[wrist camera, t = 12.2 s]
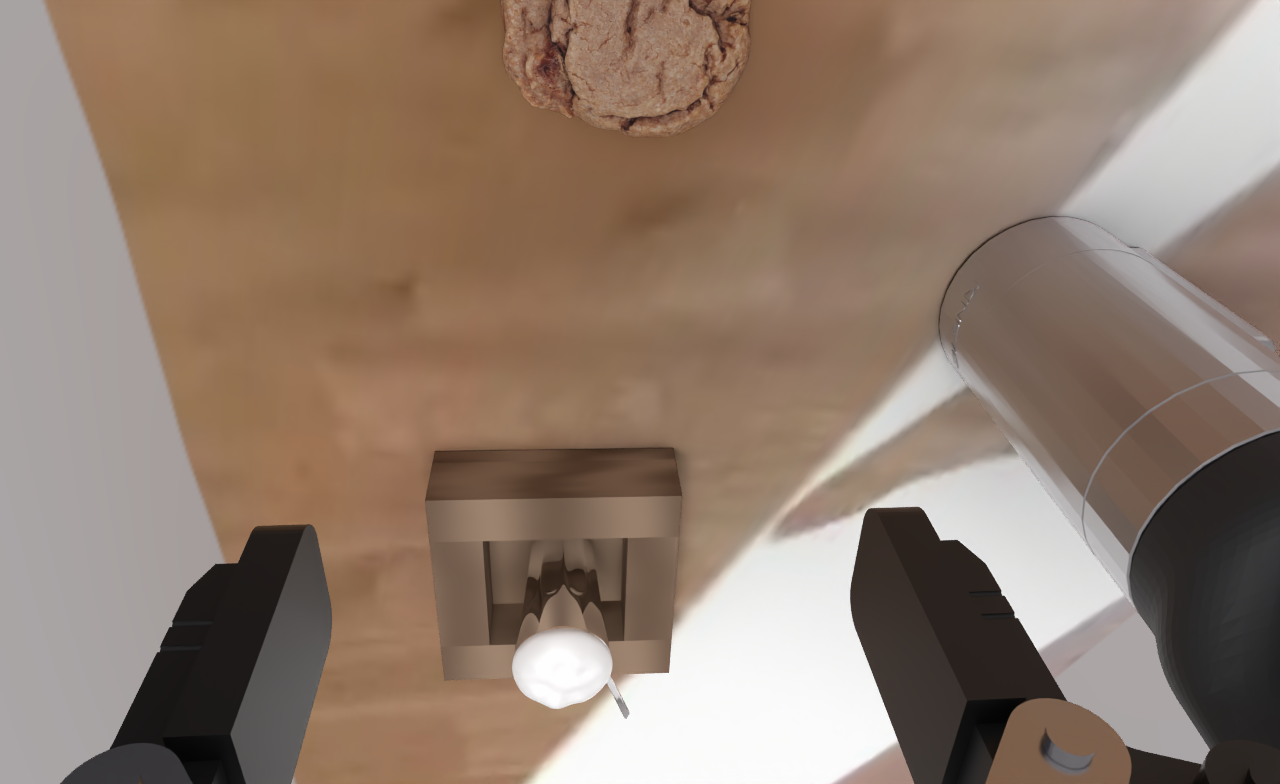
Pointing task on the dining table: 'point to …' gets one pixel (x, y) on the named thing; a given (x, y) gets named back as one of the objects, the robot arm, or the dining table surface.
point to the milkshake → (563, 628)
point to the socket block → (551, 510)
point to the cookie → (627, 59)
